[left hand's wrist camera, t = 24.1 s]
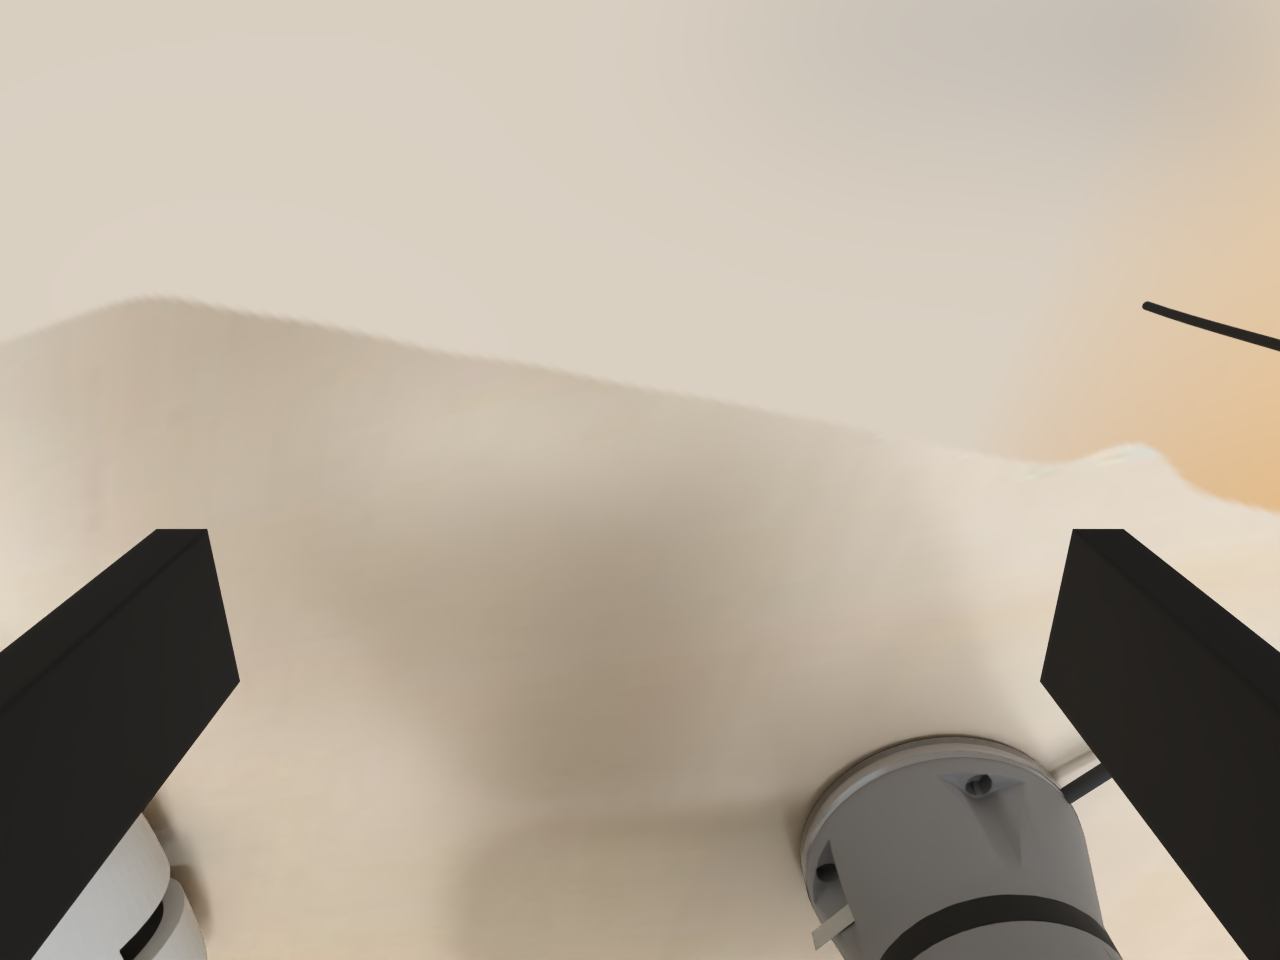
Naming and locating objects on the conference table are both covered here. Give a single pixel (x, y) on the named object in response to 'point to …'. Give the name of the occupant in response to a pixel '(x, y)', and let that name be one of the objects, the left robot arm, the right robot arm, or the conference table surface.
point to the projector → (129, 909)
